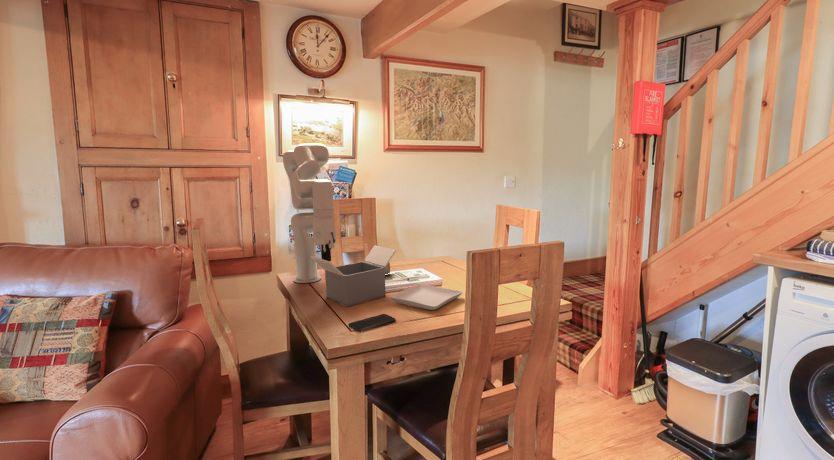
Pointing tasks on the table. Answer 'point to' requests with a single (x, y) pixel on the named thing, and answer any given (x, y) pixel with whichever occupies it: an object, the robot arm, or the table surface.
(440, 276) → the table surface
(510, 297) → the table surface
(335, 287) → the carton
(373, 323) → the phone
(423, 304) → the salad plate
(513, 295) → the table surface
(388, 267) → the ceramic mug
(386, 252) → the flap
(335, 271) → the flap
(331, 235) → the robot arm
